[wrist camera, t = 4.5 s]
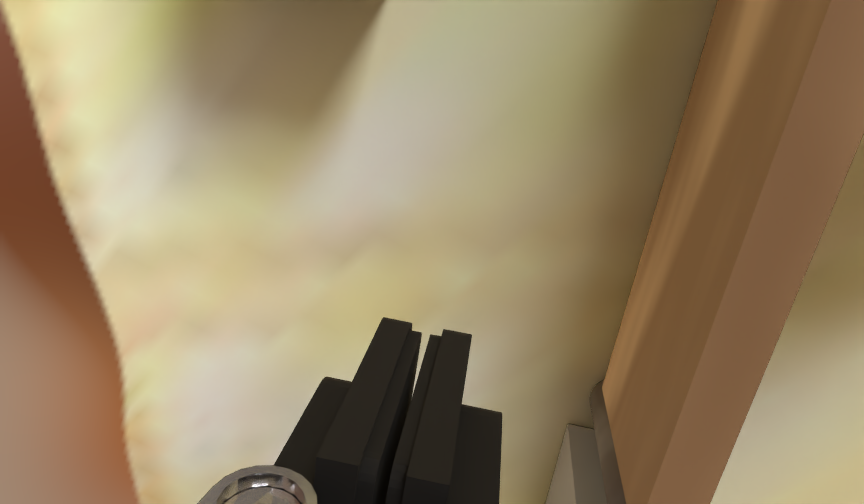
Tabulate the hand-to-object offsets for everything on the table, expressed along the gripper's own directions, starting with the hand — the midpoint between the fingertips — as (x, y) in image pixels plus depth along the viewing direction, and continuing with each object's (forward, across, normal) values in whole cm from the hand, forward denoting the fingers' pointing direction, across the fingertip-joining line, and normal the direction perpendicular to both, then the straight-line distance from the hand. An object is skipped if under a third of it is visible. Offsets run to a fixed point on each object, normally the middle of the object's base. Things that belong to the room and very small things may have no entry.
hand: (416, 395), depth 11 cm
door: (+8, -6, -2) cm, 10 cm away
